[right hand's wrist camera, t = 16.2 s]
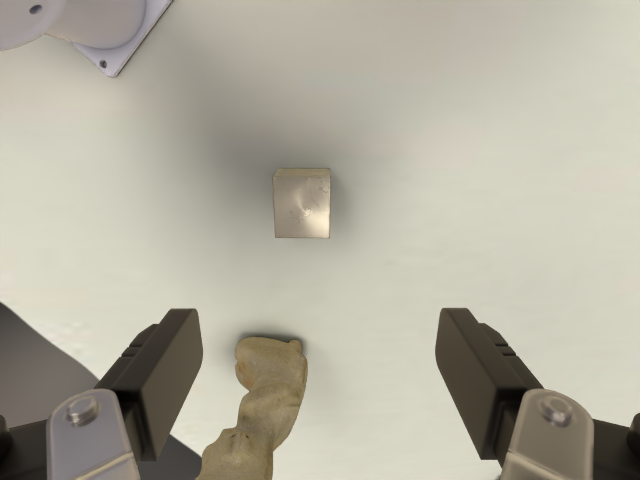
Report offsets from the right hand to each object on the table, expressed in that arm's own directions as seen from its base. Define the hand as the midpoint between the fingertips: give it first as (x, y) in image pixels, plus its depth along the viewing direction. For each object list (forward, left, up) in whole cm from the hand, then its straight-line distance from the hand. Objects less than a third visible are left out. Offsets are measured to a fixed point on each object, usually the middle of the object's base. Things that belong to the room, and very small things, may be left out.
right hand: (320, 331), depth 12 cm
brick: (0, -1, -20) cm, 20 cm away
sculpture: (+16, -6, -20) cm, 26 cm away
